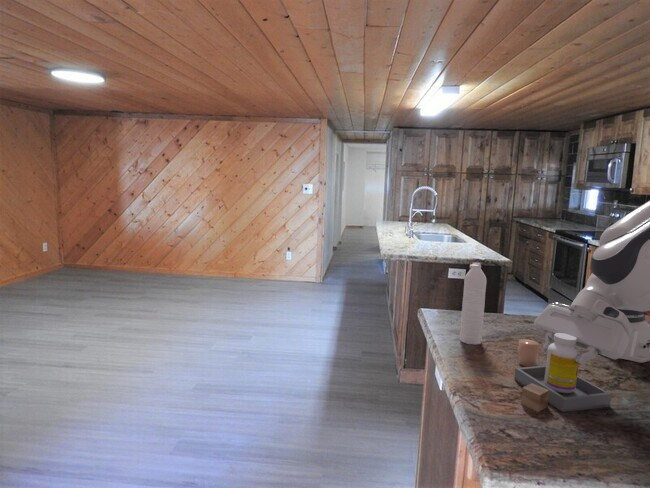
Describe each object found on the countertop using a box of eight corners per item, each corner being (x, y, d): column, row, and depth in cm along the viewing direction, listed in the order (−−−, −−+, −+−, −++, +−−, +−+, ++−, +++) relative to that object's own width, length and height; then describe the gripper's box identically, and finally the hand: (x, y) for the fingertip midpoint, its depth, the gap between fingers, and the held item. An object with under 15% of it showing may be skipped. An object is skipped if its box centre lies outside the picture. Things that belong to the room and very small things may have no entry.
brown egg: (528, 358, 123) (530, 338, 122) (541, 366, 118) (543, 345, 117) (513, 360, 122) (515, 339, 121) (525, 367, 117) (527, 346, 116)
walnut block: (530, 399, 100) (532, 383, 99) (547, 407, 97) (549, 390, 96) (520, 404, 98) (522, 387, 97) (537, 412, 94) (539, 395, 94)
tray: (555, 375, 113) (557, 364, 112) (609, 406, 98) (611, 393, 97) (514, 379, 110) (515, 368, 109) (563, 412, 94) (564, 399, 94)
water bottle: (461, 336, 140) (467, 260, 136) (483, 340, 137) (489, 262, 133) (456, 344, 132) (462, 264, 128) (478, 349, 129) (485, 267, 125)
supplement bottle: (579, 396, 100) (586, 342, 98) (548, 392, 101) (555, 340, 99) (569, 382, 106) (575, 332, 104) (540, 379, 107) (546, 330, 105)
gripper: (546, 293, 113) (518, 334, 110) (632, 316, 95) (601, 366, 92) (555, 307, 116) (528, 348, 112) (640, 332, 98) (610, 382, 95)
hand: (561, 357), depth 102 cm, fingers closed on supplement bottle, 7 cm apart
